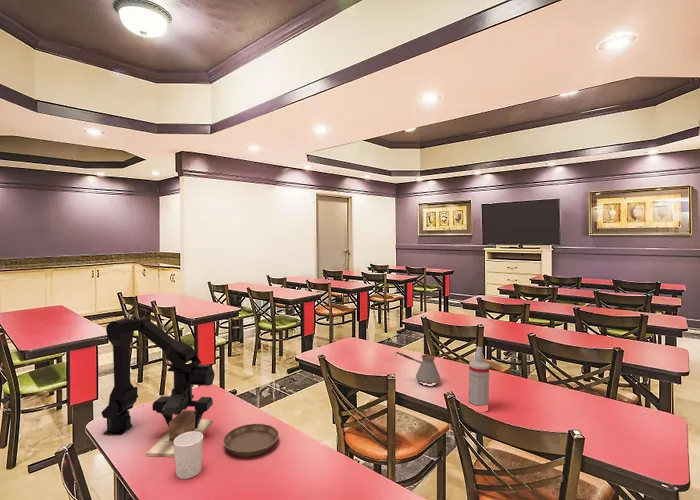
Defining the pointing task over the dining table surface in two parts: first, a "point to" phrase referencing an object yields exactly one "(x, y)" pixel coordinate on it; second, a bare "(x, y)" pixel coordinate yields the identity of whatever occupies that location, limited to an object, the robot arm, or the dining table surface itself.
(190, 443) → the white cup
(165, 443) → the board
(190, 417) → the block
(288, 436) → the dining table surface
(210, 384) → the robot arm
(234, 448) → the plant saucer
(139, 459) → the dining table surface
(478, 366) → the grey nozzle bottle
